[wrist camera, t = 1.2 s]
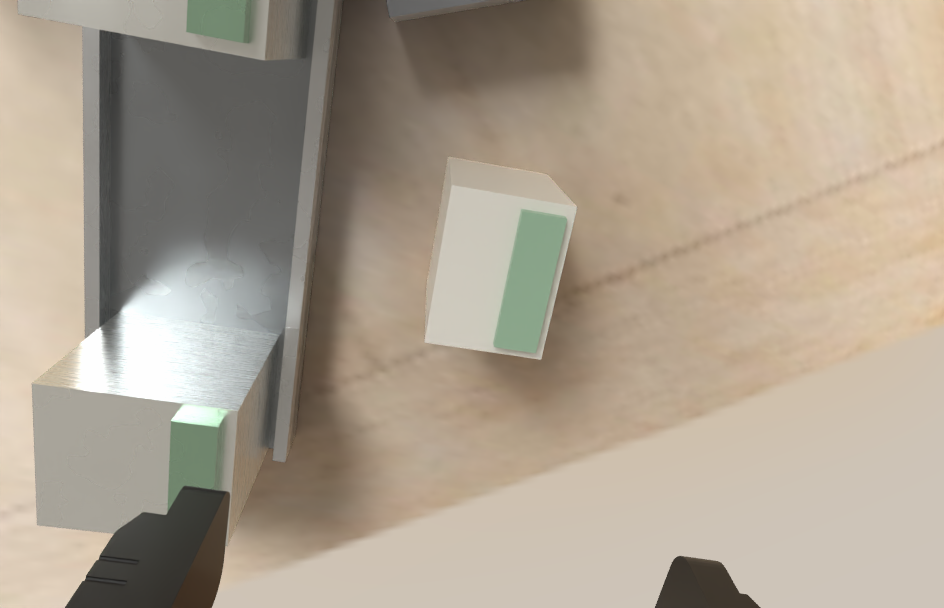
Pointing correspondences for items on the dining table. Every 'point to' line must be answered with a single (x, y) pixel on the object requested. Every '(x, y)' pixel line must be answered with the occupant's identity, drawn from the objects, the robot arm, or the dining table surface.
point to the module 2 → (496, 258)
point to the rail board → (187, 251)
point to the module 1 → (434, 7)
